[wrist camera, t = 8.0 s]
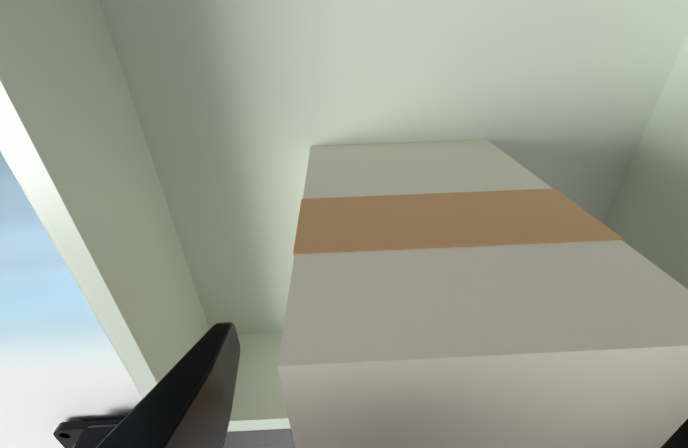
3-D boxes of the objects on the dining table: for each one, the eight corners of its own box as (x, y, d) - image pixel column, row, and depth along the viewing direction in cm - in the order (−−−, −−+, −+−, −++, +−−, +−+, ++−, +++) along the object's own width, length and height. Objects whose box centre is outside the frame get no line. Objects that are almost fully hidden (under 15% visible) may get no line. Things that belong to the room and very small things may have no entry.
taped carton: (452, 315, 13) (555, 561, 7) (324, 321, 13) (319, 576, 7) (487, 138, 9) (762, 340, 3) (309, 145, 9) (275, 364, 3)
